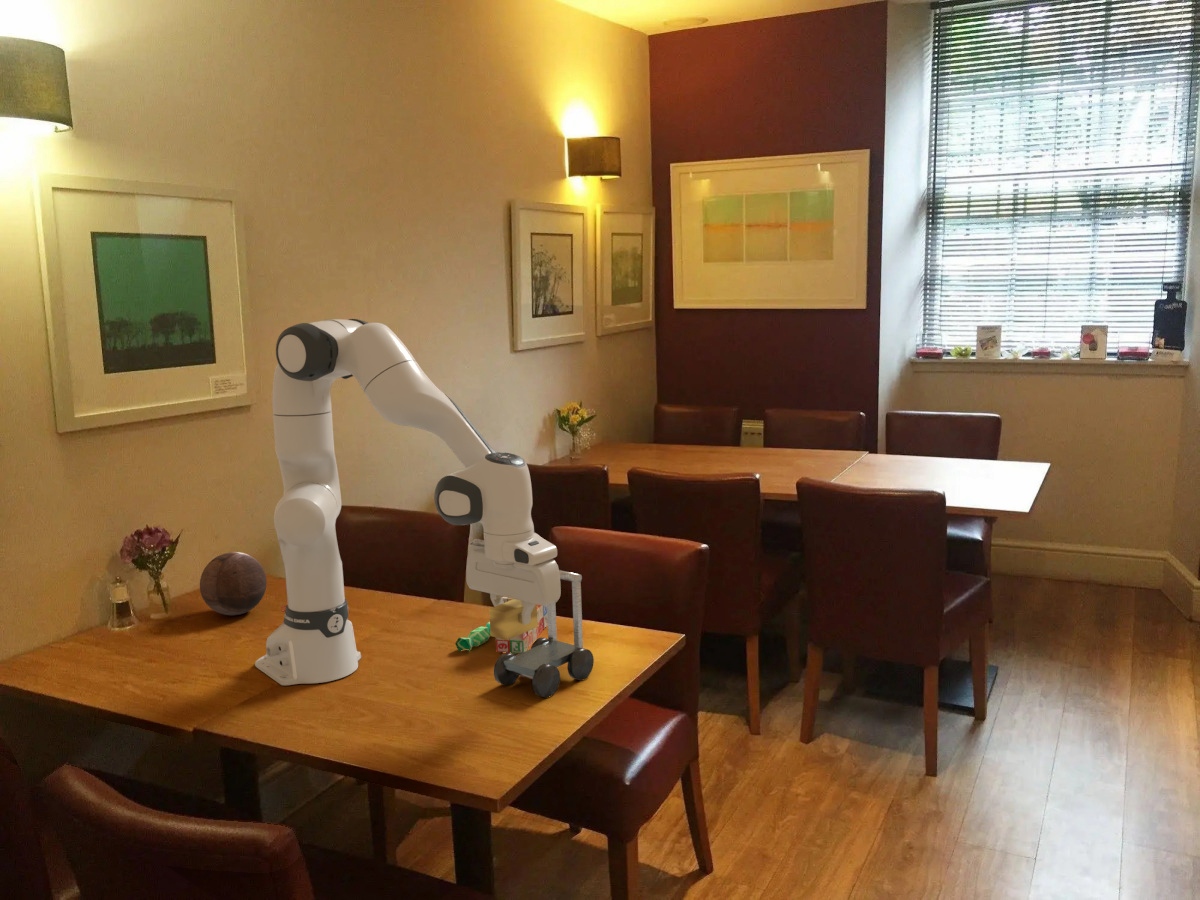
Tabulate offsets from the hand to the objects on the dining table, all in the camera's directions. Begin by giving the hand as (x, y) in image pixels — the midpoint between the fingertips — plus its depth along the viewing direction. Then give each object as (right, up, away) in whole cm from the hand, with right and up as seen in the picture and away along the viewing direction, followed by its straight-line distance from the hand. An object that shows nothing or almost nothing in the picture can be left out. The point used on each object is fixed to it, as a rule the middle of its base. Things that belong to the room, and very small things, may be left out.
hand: (513, 620), depth 179 cm
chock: (0, -2, 0) cm, 2 cm away
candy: (-11, -12, +38) cm, 41 cm away
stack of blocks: (-1, -11, +41) cm, 43 cm away
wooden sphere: (-72, -9, +62) cm, 96 cm away
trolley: (+5, -15, +16) cm, 22 cm away
